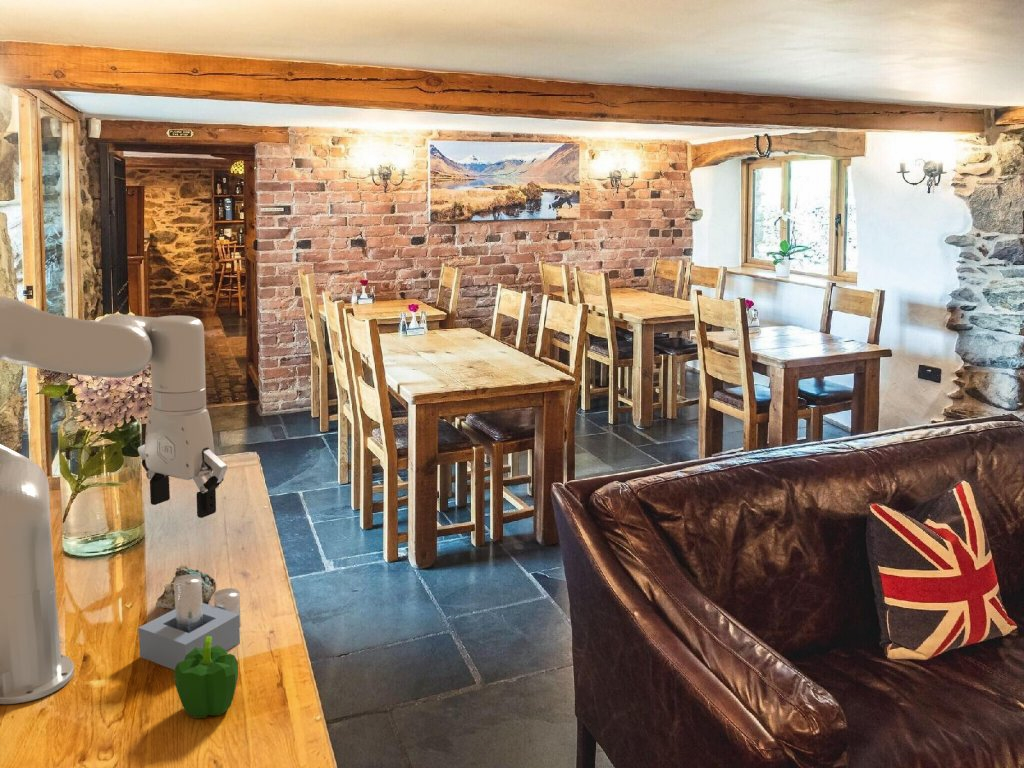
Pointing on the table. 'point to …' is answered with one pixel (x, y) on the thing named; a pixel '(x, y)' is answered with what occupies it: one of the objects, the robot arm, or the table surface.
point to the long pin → (188, 602)
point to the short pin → (228, 601)
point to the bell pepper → (206, 680)
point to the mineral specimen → (169, 594)
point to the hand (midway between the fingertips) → (183, 508)
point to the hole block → (187, 636)
